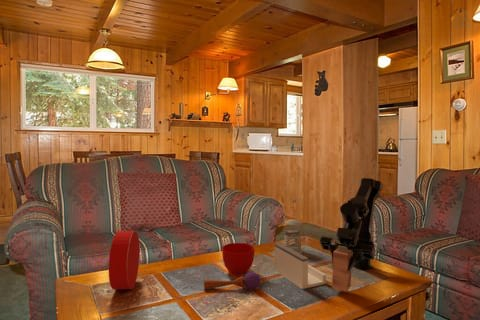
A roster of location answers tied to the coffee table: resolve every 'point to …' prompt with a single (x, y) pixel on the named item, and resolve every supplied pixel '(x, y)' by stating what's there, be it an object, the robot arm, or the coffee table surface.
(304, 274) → the cleat board
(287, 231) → the french press
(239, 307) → the coffee table surface
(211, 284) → the kendama
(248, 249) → the ceramic cup
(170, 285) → the coffee table surface
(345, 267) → the block
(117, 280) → the toy clock
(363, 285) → the coffee table surface
